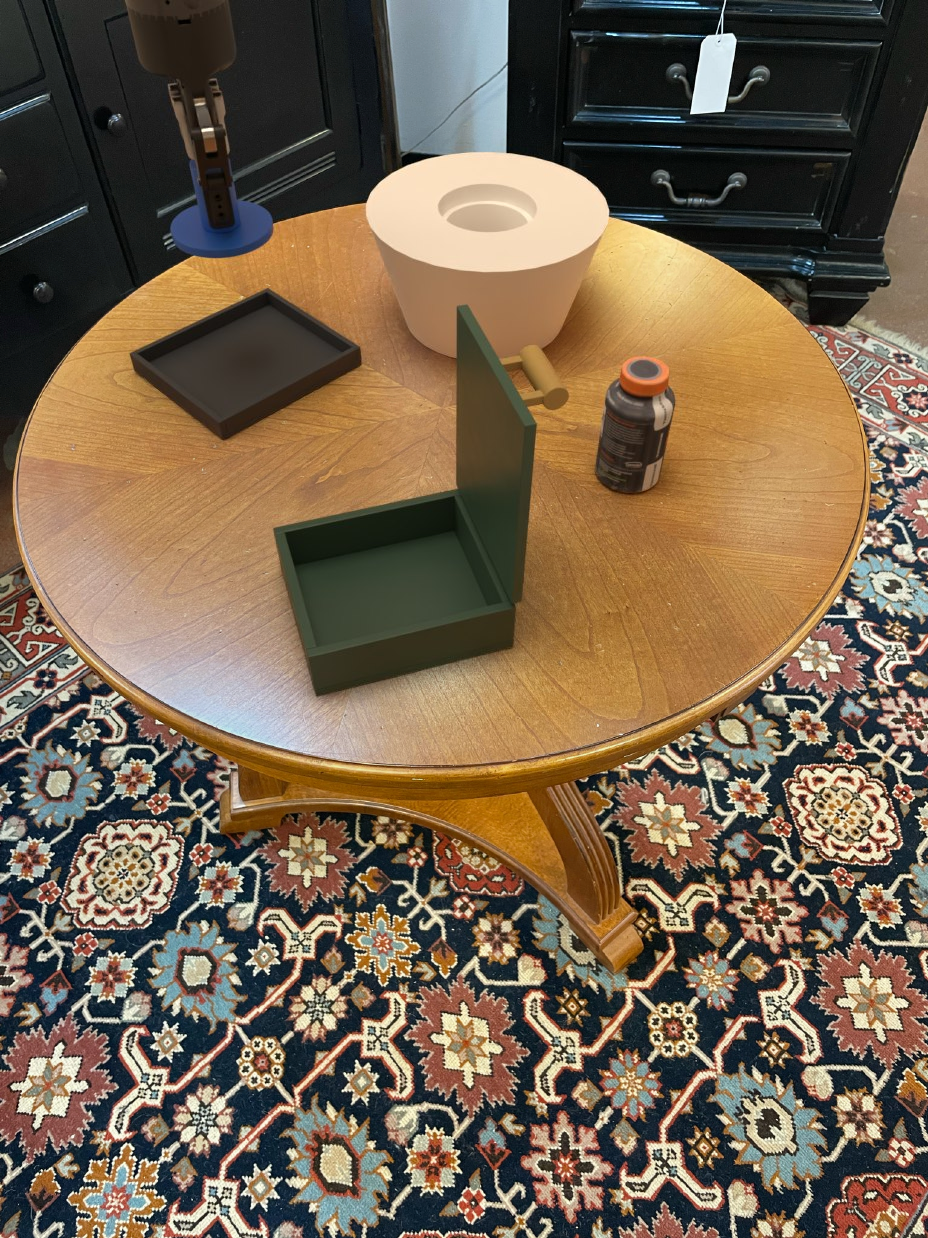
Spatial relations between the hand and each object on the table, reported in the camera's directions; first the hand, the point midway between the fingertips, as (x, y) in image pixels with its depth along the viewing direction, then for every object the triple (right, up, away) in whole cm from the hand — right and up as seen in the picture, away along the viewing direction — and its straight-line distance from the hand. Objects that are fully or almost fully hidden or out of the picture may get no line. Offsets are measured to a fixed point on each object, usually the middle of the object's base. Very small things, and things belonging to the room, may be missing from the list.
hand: (219, 214), depth 85 cm
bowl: (+24, -3, +19) cm, 31 cm away
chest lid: (+23, -25, -17) cm, 38 cm away
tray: (0, -10, +12) cm, 16 cm away
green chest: (+16, -35, -8) cm, 39 cm away
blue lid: (0, -1, +1) cm, 2 cm away
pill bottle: (+37, -23, +3) cm, 43 cm away
